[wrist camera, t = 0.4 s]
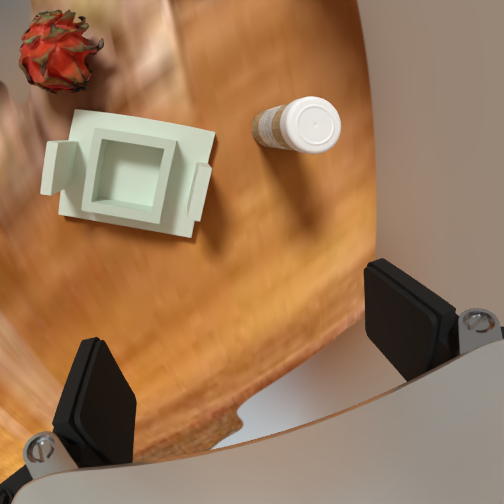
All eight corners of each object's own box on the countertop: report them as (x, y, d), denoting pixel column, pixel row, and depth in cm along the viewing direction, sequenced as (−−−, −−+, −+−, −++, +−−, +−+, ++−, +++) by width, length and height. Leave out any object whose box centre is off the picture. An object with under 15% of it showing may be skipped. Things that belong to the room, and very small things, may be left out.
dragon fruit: (55, 23, 26) (100, 89, 32) (-2, 55, 21) (45, 128, 28) (77, -19, 20) (129, 57, 26) (6, 13, 15) (61, 98, 22)
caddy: (78, 109, 29) (54, 104, 23) (214, 132, 34) (221, 130, 27) (62, 212, 33) (38, 228, 26) (190, 234, 37) (192, 256, 30)
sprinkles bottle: (295, 120, 35) (351, 114, 22) (279, 154, 36) (328, 165, 24) (260, 102, 33) (302, 84, 21) (243, 137, 34) (276, 138, 22)
